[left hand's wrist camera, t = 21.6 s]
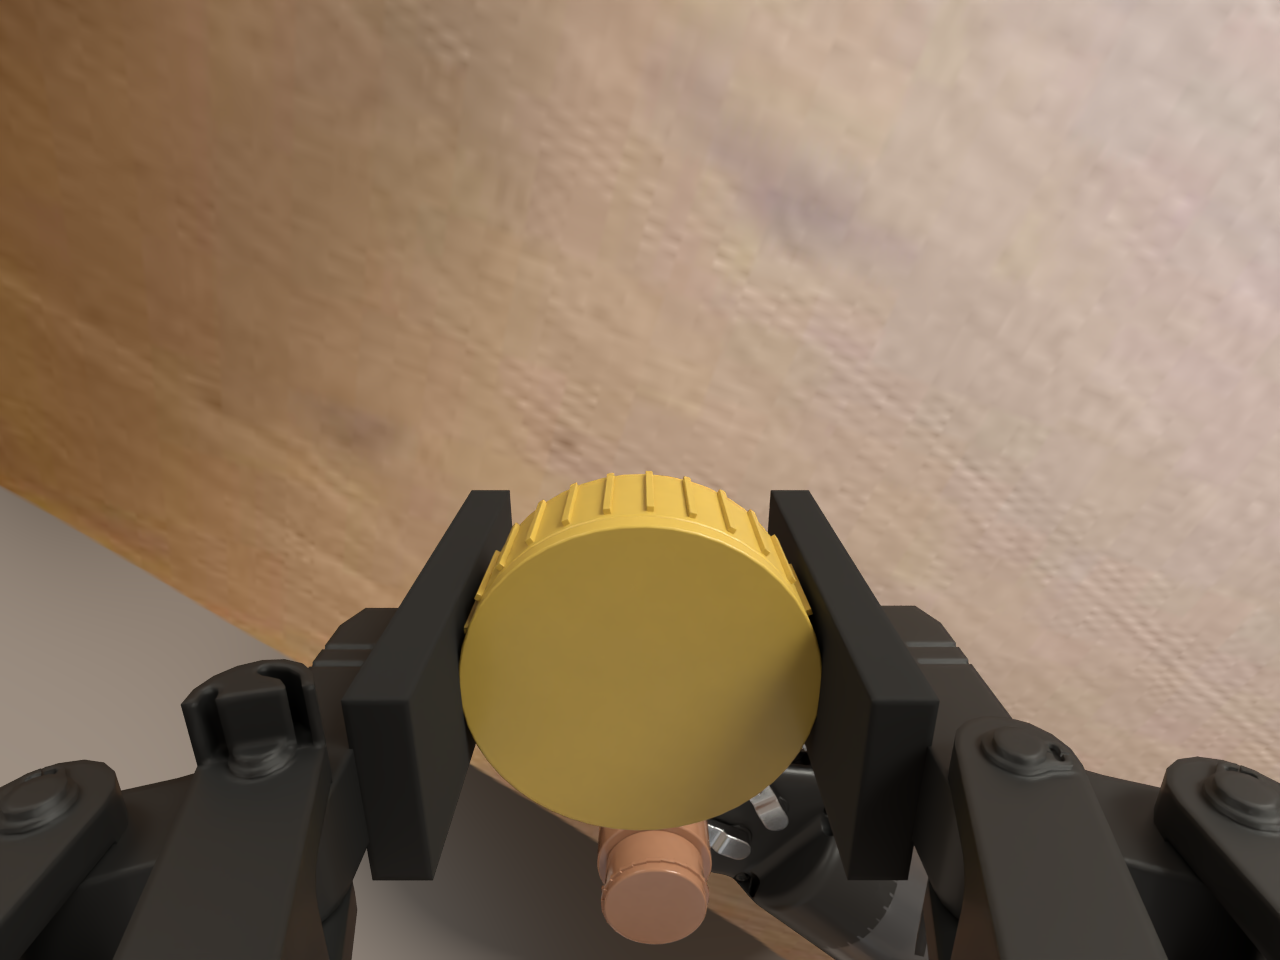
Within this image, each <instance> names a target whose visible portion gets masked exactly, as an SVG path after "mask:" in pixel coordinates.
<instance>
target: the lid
mask: <svg viewBox="0 0 1280 960" xmlns="http://www.w3.org/2000/svg"><path fill="white" fill-rule="evenodd" d="M474 599H475V603H474V605H473V607H472V610H471V612H470V614H469V617H468V619H467V621H466V624H465V626H464V633H465V634H466V635H465V638H464V641H463V644H462V648H461V654H460V660H459V678H460V689H461V698H462V707H463V713H464V716H465V719H466V723H467V726H468V728H469V730H470V732H471V734H472V736H473V738H474V740H475V742H476V744H477V746H478V747H479V749H480V750H481V752H482V753H483V755H484V756H485V758H486V759H487V761H488V762H489V763H490V764H491V765H492V766H493V768H494V769H495V770H496V771H497V772H498V773H499V774H500V776H502V777H503V778H504V779H505V780H506V781H507V782H508V783H509V784H511V785H512V786H513V787H514V788H515V789H516V790H518V791H519V792H521V793H522V794H523V795H525V796H526V797H528V798H529V799H531V800H532V801H534V802H536V803H537V804H539V805H541V806H543V807H545V808H547V809H549V810H550V811H553V812H555V813H557V814H560V815H562V816H565V817H567V818H570V819H573V820H576V821H580V822H583V823H587V824H590V825H595V826H600V827H606V828H612V829H623V830H660V829H667V828H675V827H681V826H685V825H690V824H694V823H698V822H702V821H704V820H707V819H710V818H713V817H716V816H719V815H721V814H723V813H726V812H728V811H730V810H732V809H734V808H736V807H738V806H740V805H742V804H743V803H745V802H747V801H748V800H750V799H751V798H753V797H755V796H756V795H758V794H759V793H760V792H762V791H763V790H764V789H765V788H767V787H768V786H769V785H770V784H772V783H773V782H774V781H775V780H776V779H777V778H778V777H779V776H780V775H781V774H782V773H783V772H784V771H785V770H786V769H787V768H788V766H789V765H790V764H791V763H792V761H793V760H794V759H795V757H796V756H797V755H798V753H799V752H800V750H801V749H802V747H803V745H804V743H805V742H806V740H807V738H808V736H809V734H810V732H811V729H812V727H813V724H814V722H815V719H816V716H817V710H818V702H819V693H820V683H821V673H822V661H821V653H820V649H819V645H818V641H817V637H816V634H815V632H814V629H813V627H812V625H811V622H810V620H809V618H808V616H809V615H812V614H813V612H812V610H811V607H810V605H809V603H808V600H807V598H806V596H805V594H804V591H803V589H802V587H801V584H800V582H799V580H798V578H797V575H796V573H795V571H794V569H793V566H792V564H788V561H787V559H786V557H785V554H784V552H783V550H782V547H781V545H780V543H779V540H778V538H777V537H776V536H775V535H773V536H770V535H769V534H768V533H767V532H766V530H765V529H764V528H763V527H762V526H761V524H760V523H759V522H758V520H757V517H756V515H755V513H754V512H753V511H752V510H751V509H750V510H749V511H748V512H747V511H746V510H745V509H743V508H742V507H740V506H739V505H738V504H736V503H735V502H733V501H732V500H730V499H729V498H727V496H726V493H725V492H724V491H722V490H719V491H718V492H716V491H714V490H712V489H710V488H707V487H704V486H702V485H699V484H696V483H693V482H691V479H690V478H689V477H685V476H684V478H683V480H682V479H678V478H673V477H669V476H660V475H653V472H652V471H646V474H636V475H620V476H614V473H610V474H607V478H602V479H598V480H595V481H591V482H588V483H584V484H581V485H579V486H578V484H577V483H574V484H572V485H571V486H570V489H569V490H567V491H565V492H562V493H561V494H559V495H557V496H556V497H554V498H552V499H551V500H549V501H547V502H545V501H544V500H542V501H540V502H539V503H538V506H537V508H536V510H535V511H534V512H533V513H531V514H530V515H529V516H528V517H527V518H526V519H525V520H524V521H523V522H522V523H521V524H520V525H519V524H518V523H515V524H514V525H513V526H512V529H511V531H510V533H509V536H508V538H507V541H506V543H505V545H504V546H503V548H502V550H501V552H499V551H497V550H496V551H495V553H494V555H493V557H492V559H491V561H490V564H489V566H488V568H487V571H486V573H485V575H484V577H483V580H482V582H481V584H480V587H479V589H478V591H477V593H476V596H475V598H474Z"/></svg>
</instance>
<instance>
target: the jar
mask: <svg viewBox="0 0 1280 960" xmlns="http://www.w3.org/2000/svg"><path fill="white" fill-rule="evenodd" d="M597 868H598V873H599V876H600V878H601V880H602V882H603V884H604V886H602V895H601V907H602V913H603V915H604V917H605V919H606V922H607V923H608V924H609V925H610V926H611V927H612V928H613V929H614V931H616V932H617V933H619V934H621V935H622V936H624V937H625V938H627V939H630V940H633V941H636V942H639V943H644V944H666V943H671V942H675V941H678V940H680V939H683V938H685V937H687V936H688V935H690V934H691V933H693V932H694V931H695V930H696V929H697V928H698V927H699V926H700V925H701V923H702V922H703V920H704V917H705V915H706V911H707V905H708V901H709V888H708V886H707V883H706V882H707V880H708V878H709V875H710V872H711V868H712V858H711V849H710V839H709V830H708V821H707V820H704V821H702V822H698V823H694V824H690V825H685V826H681V827H675V828H667V829H660V830H623V829H612V828H606V827H600V826H599V841H598V856H597Z"/></svg>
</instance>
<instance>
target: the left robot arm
mask: <svg viewBox="0 0 1280 960" xmlns="http://www.w3.org/2000/svg"><path fill="white" fill-rule="evenodd" d="M511 529H512V518H511V503H510V490H472V491H471V492H470V494H469V496H468V497H467V499H466V500H465V502H464V504H463V505H462V507H461V508H460V510H459V512H458V513H457V515H456V516H455V518H454V520H453V521H452V523H451V524H450V526H449V528H448V529H447V531H446V532H445V534H444V536H443V537H442V539H441V540H440V542H439V544H438V545H437V547H436V549H435V550H434V552H433V553H432V555H431V557H430V558H429V560H428V561H427V563H426V565H425V566H424V568H423V569H422V571H421V573H420V574H419V576H418V577H417V579H416V581H415V582H414V584H413V585H412V587H411V589H410V590H409V592H408V593H407V595H406V597H405V598H404V600H403V601H402V603H401V605H400V606H399V608H365V609H363V610H362V611H361V612H359V613H358V614H356V615H355V616H353V617H352V618H350V619H349V620H347V621H346V622H344V623H343V624H341V625H340V626H339V627H338V629H337V630H336V631H335V633H334V634H333V636H332V637H331V638H330V640H329V641H328V642H327V644H326V645H325V649H322V650H321V652H320V653H319V654H318V656H317V657H316V658H315V660H314V661H313V665H312V667H309V668H307V667H306V666H305V665H304V664H302V663H298V662H294V661H290V660H286V659H281V660H261V661H257V662H253V663H248V664H244V665H240V666H236V667H234V668H231V669H229V670H227V671H224V672H222V673H220V674H217V675H215V676H213V677H211V678H210V679H208V680H207V681H205V682H204V683H202V684H201V685H199V686H198V687H196V688H195V689H194V690H193V691H192V692H191V693H190V694H189V695H188V697H187V698H186V699H185V700H184V701H183V702H182V704H181V707H182V711H183V715H184V718H185V722H186V726H187V729H188V733H189V736H190V740H191V744H192V748H193V751H194V755H195V758H196V762H197V768H196V771H195V773H194V774H191V775H187V776H184V777H180V778H177V779H172V780H168V781H163V782H158V783H154V784H149V785H145V786H140V787H135V788H131V789H126V790H122V791H121V789H120V786H119V783H118V780H117V777H116V774H115V771H114V770H112V769H111V768H110V767H109V766H108V765H106V764H105V763H104V762H96V761H90V760H79V761H72V762H64V763H58V764H55V765H52V766H48V767H45V768H43V769H38V770H35V771H33V772H30V773H27V774H25V775H23V776H22V777H20V778H18V779H16V780H14V781H12V782H10V783H8V784H6V785H4V786H2V787H0V960H351V959H352V950H353V941H354V933H355V924H356V916H357V905H356V897H355V891H354V886H353V878H354V876H355V874H356V871H357V869H358V867H359V864H360V862H361V860H362V858H363V855H364V853H365V851H366V848H367V851H368V857H369V863H370V868H371V874H372V879H373V880H433V878H434V875H435V872H436V868H437V865H438V862H439V859H440V856H441V853H442V849H443V846H444V843H445V840H446V837H447V834H448V830H449V827H450V824H451V821H452V818H453V814H454V811H455V808H456V805H457V802H458V799H459V795H460V792H461V789H462V786H463V783H464V779H465V776H466V773H467V770H468V767H469V763H470V760H471V757H472V754H473V751H474V748H475V744H476V742H475V740H474V738H473V736H472V734H471V732H470V730H469V728H468V726H467V723H466V719H465V716H464V713H463V707H462V698H461V689H460V678H459V660H460V654H461V648H462V644H463V641H464V638H465V635H466V634H465V633H464V626H465V624H466V621H467V619H468V617H469V614H470V612H471V610H472V607H473V605H474V603H475V599H474V598H475V596H476V593H477V591H478V589H479V587H480V584H481V582H482V580H483V577H484V575H485V573H486V571H487V568H488V566H489V564H490V561H491V559H492V557H493V555H494V553H495V551H496V550H497V551H499V552H501V550H502V548H503V546H504V545H505V543H506V541H507V538H508V536H509V533H510V531H511ZM768 534H769V535H770V536H773V535H775V536H776V537H777V538H778V540H779V543H780V545H781V547H782V550H783V552H784V554H785V557H786V559H787V561H788V564H792V566H793V569H794V571H795V573H796V575H797V578H798V580H799V582H800V584H801V587H802V589H803V591H804V594H805V596H806V598H807V600H808V603H809V605H810V607H811V610H812V612H813V614H812V615H809V616H808V618H809V620H810V622H811V625H812V627H813V629H814V632H815V634H816V637H817V641H818V645H819V649H820V653H821V661H822V673H821V683H820V693H819V702H818V710H817V716H816V719H815V722H814V724H813V727H812V729H811V732H810V734H809V736H808V738H807V740H806V742H805V746H806V749H807V753H808V756H809V759H810V762H811V765H812V769H813V772H814V775H815V778H816V781H817V784H818V788H819V791H820V794H821V797H822V800H823V804H824V807H825V810H826V813H827V816H828V819H829V823H830V826H831V829H832V832H833V835H834V839H835V842H836V845H837V848H838V851H839V854H840V858H841V861H842V864H843V867H844V870H845V874H846V877H847V880H908V876H909V871H910V865H911V860H912V854H913V848H914V846H915V848H916V851H917V853H918V855H919V858H920V860H921V862H922V864H923V867H924V869H925V871H926V874H927V876H928V881H927V886H926V891H925V896H924V902H923V907H922V912H921V917H920V922H919V928H918V933H917V938H916V946H915V953H914V955H918V956H922V957H924V955H925V950H926V945H927V948H928V957H929V960H1280V783H1278V782H1276V781H1274V780H1272V779H1270V778H1268V777H1266V776H1264V775H1262V774H1260V773H1259V772H1257V771H1255V770H1252V769H1249V768H1247V767H1244V766H1239V765H1237V764H1235V763H1231V762H1227V761H1224V760H1218V759H1211V758H1203V757H1192V758H1185V759H1178V760H1176V761H1175V762H1174V763H1173V764H1172V765H1170V766H1169V767H1168V768H1167V769H1166V772H1165V776H1164V779H1163V782H1162V785H1161V788H1159V787H1154V786H1150V785H1145V784H1141V783H1136V782H1132V781H1127V780H1123V779H1118V778H1114V777H1109V776H1105V775H1101V774H1097V773H1094V772H1090V771H1087V770H1085V769H1084V767H1083V765H1082V764H1081V762H1080V761H1079V759H1078V758H1077V757H1076V755H1075V754H1074V753H1073V751H1072V750H1071V749H1070V748H1069V747H1068V746H1066V745H1065V744H1064V743H1063V742H1061V741H1060V740H1059V739H1057V738H1056V737H1055V736H1054V735H1052V734H1050V733H1048V732H1046V731H1044V730H1042V729H1040V728H1038V727H1036V726H1034V725H1032V724H1030V723H1026V722H1023V721H1019V720H1015V719H1012V718H1011V716H1010V715H1009V714H1008V712H1007V711H1006V710H1005V708H1004V707H1003V706H1002V704H1001V703H1000V702H999V700H998V699H997V698H996V696H995V695H994V694H993V692H992V691H991V690H990V688H989V687H988V686H987V684H986V683H985V682H984V680H983V679H982V678H981V676H980V675H979V674H978V672H977V671H976V670H975V668H974V667H973V665H972V664H969V663H968V659H967V657H966V656H965V655H964V653H963V652H962V651H961V649H960V648H959V647H956V643H955V641H954V640H953V639H952V637H951V636H950V635H949V633H948V632H947V631H946V629H945V628H944V627H943V625H942V624H941V623H940V622H939V621H937V620H936V619H934V618H933V617H931V616H930V615H928V614H927V613H925V612H924V611H922V610H921V609H919V608H918V607H916V606H880V604H879V602H878V601H877V599H876V597H875V596H874V594H873V593H872V591H871V589H870V588H869V586H868V585H867V583H866V581H865V580H864V578H863V577H862V575H861V573H860V572H859V570H858V569H857V567H856V565H855V564H854V562H853V561H852V559H851V557H850V556H849V554H848V553H847V551H846V549H845V548H844V546H843V545H842V543H841V541H840V540H839V538H838V537H837V535H836V533H835V532H834V530H833V529H832V527H831V525H830V524H829V522H828V521H827V519H826V517H825V516H824V514H823V513H822V511H821V509H820V508H819V506H818V505H817V503H816V501H815V500H814V498H813V497H812V495H811V493H810V492H809V490H771V495H770V509H769V524H768Z"/></svg>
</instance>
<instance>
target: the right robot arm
mask: <svg viewBox="0 0 1280 960" xmlns="http://www.w3.org/2000/svg"><path fill="white" fill-rule="evenodd" d="M802 748H803V749H801V750H800V752H799V753H798V755H797V756H796V757H795V759H794V760H793V761H792V763H791V764H790V765H789V766H788V768H787V769H786V770H785V771H784V772H783V773H782V774H781V775H780V776H779V777H778V778H777V779H776V780H775V781H774V782H773V783H772V784H770V785H769V786H768V787H767V788H765V789H764V790H763V791H762V792H760V793H759V794H758V795H756V796H755V797H753V798H751V799H750V800H748V801H747V802H745V803H743V804H742V805H740V806H738V807H736V808H734V809H732V810H730V811H728V812H726V813H723V814H721V815H719V816H716V817H713V818H710V819H707V821H708V830H709V839H710V849H711V858H712V868H711V872H713V873H719V874H724V875H727V876H730V877H732V878H733V879H735V880H736V882H737V883H738V884H739V885H740V886H741V887H742V888H743V890H744V891H745V892H746V893H747V894H748V896H749V897H750V898H751V899H752V900H753V901H754V902H755V903H756V904H757V905H759V906H760V907H761V908H763V909H764V910H766V911H767V912H768V913H770V914H771V915H773V916H774V917H776V918H777V919H778V920H780V921H781V922H783V923H784V924H786V925H787V926H788V927H790V928H791V929H793V930H794V931H796V932H797V933H798V934H800V935H801V936H803V937H804V938H805V939H807V940H808V941H810V942H811V943H813V944H814V945H815V946H817V947H818V948H820V949H821V950H822V951H824V952H825V953H827V954H828V955H830V956H831V957H832V958H834V959H835V960H929V957H928V948H927V945H926V950H925V955H924V957H922V956H918V955H914V953H915V946H916V938H917V933H918V928H919V922H920V917H921V912H922V907H923V902H924V896H925V891H926V886H927V881H928V876H927V874H926V871H925V869H924V867H923V864H922V862H921V860H920V858H919V855H918V853H917V851H916V848H915V846H914V848H913V854H912V860H911V865H910V871H909V876H908V880H847V877H846V874H845V870H844V867H843V864H842V861H841V858H840V854H839V851H838V848H837V845H836V842H835V839H834V835H833V832H832V829H831V826H830V823H829V819H828V816H827V813H826V810H825V807H824V804H823V800H822V797H821V794H820V791H819V788H818V784H817V781H816V778H815V775H814V772H813V769H812V765H811V762H810V759H809V756H808V753H807V749H806V746H805V743H804V745H803V747H802Z"/></svg>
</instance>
